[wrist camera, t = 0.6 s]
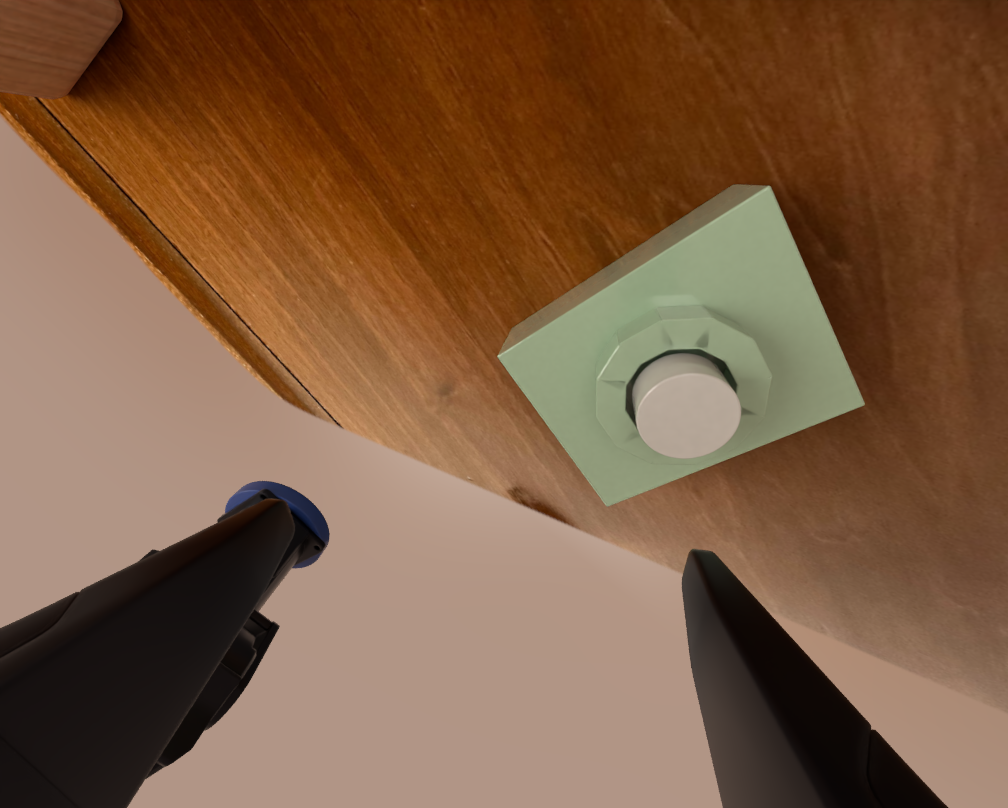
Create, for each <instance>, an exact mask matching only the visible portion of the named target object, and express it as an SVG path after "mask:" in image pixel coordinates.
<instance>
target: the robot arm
mask: <svg viewBox="0 0 1008 808" xmlns="http://www.w3.org/2000/svg"><path fill="white" fill-rule="evenodd" d="M325 547H326V544H325V543H324V541H322V540H321V539H320V538H319V537H318V536H317V535H316V534H315V533H314V532H313V531H312V530H311V529H310V528H309V527H308V526H307V525H306V524H305V523H304V522H303V521H302V520H301V519H299V518H298V517H297V516H296V515H295V514H294V513H293V512H292V511H291V510H290V509H289V506H288V504H287V502H286V501H284V500H280V499H279V498H278V497H276V496H275V495H274V494H273V493H272V492H271V491H270V490H268V489H262V490H260V491H259V492H257V493H256V494H254V495H252V496H251V497H249V498H248V499H246V500H245V501H243V502H242V503H240V504H239V505H237V506H236V507H234V508H233V509H231V510H229V511H228V512H226V513H225V514H223V515H222V516H221V517H220V518H219V519H218V523H216V524H214V525H212V526H210V527H208V528H206V529H204V530H202V531H200V532H198V533H196V534H194V535H192V536H190V537H188V538H186V539H184V540H182V541H180V542H178V543H176V544H174V545H172V546H169V547H167V548H165V549H163V550H161V551H157V550H151V551H150V552H149V553H148V554H147V555H145V556H144V557H143V558H142V559H141V560H140V561H138V562H137V563H135V564H133V565H131V566H129V567H127V568H125V569H123V570H121V571H118V572H116V573H114V574H112V575H110V576H108V577H107V578H104V579H102V580H100V581H98V582H96V583H94V584H92V585H90V586H88V587H86V588H84V589H82V590H81V591H80V592H75V593H73V594H72V595H69V596H67V597H65V598H63V599H61V600H59V601H57V602H56V603H53V604H51V605H49V606H47V607H45V608H43V609H41V610H39V611H36V612H34V613H32V614H30V615H28V616H26V617H24V618H22V619H20V620H18V621H15V622H13V623H11V624H9V625H7V626H4V627H2V628H0V808H127V807H128V805H129V804H130V802H131V800H132V799H133V797H134V796H135V794H136V793H137V791H138V790H139V788H140V786H141V785H142V783H143V782H144V780H145V779H147V778H148V777H149V776H151V775H152V774H154V773H156V772H157V771H159V770H160V769H162V768H163V767H166V766H168V765H170V764H172V763H173V762H174V761H176V760H177V759H179V758H180V757H181V756H183V755H184V754H186V753H187V752H188V751H190V750H191V749H192V748H193V746H194V745H195V743H196V742H197V740H198V739H199V737H200V735H201V734H202V733H203V731H204V730H207V729H209V728H210V727H212V726H213V725H214V724H215V723H216V722H217V721H218V720H220V719H221V717H223V715H224V714H225V713H226V712H227V711H228V710H229V709H230V708H231V706H232V705H233V704H234V703H235V702H236V700H237V699H238V698H239V696H240V695H241V694H242V692H243V691H244V689H245V688H246V686H247V685H248V683H249V681H250V680H251V678H252V676H253V674H254V673H255V671H256V669H257V667H258V665H259V663H260V662H261V659H262V658H263V656H264V654H265V653H266V651H267V649H268V647H269V645H270V643H271V642H272V639H273V638H274V636H275V634H276V632H277V630H278V629H279V625H278V624H277V623H275V622H271V621H270V620H269V619H267V618H266V617H265V616H263V615H262V614H261V613H259V610H260V609H261V607H262V606H263V605H264V604H265V602H266V601H267V599H268V598H269V597H270V596H271V594H272V593H273V592H274V591H275V589H276V588H277V587H278V585H279V584H280V583H281V581H282V580H283V579H284V577H285V576H286V575H287V574H288V572H289V571H290V570H291V568H292V567H293V566H295V565H297V564H299V563H301V562H303V561H305V560H307V559H309V558H311V557H313V556H315V555H317V554H319V553H321V552H322V551H323V550H324V549H325ZM682 592H683V601H684V610H685V618H686V627H687V636H688V645H689V653H690V660H691V668H692V673H693V678H694V682H695V687H696V691H697V695H698V700H699V704H700V709H701V713H702V717H703V722H704V726H705V731H706V735H707V739H708V744H709V748H710V753H711V757H712V761H713V766H714V770H715V775H716V778H717V783H718V788H719V792H720V797H721V801H722V805H723V808H948V807H947V806H946V805H945V804H944V803H943V802H942V801H941V800H940V799H939V798H938V797H937V796H936V795H935V793H934V792H932V790H931V789H930V788H929V787H928V786H927V785H926V784H925V783H924V782H923V781H922V780H921V779H920V778H919V776H918V775H917V774H916V773H915V772H914V771H913V770H912V769H911V768H910V767H909V766H908V765H907V764H906V763H905V762H904V761H903V759H902V758H901V757H900V756H899V755H898V754H897V753H896V752H895V751H894V750H893V749H892V747H890V745H889V744H888V743H887V742H886V741H885V740H884V739H883V738H882V736H881V735H880V734H879V733H878V732H877V731H876V730H871V725H870V724H869V722H868V721H867V720H866V719H865V718H864V717H863V716H862V715H861V714H860V713H859V711H858V710H857V709H856V708H855V707H854V706H853V705H852V704H851V703H850V702H849V700H847V698H846V697H845V696H844V695H843V694H842V693H841V692H840V691H839V689H838V688H837V687H836V686H835V685H834V684H833V683H832V682H831V681H830V680H829V679H828V678H827V676H826V675H825V674H824V673H823V672H822V671H821V670H820V669H819V667H818V666H817V665H816V664H815V663H814V662H813V661H812V660H811V659H810V658H809V656H808V655H807V654H806V653H805V652H804V651H803V650H802V649H801V648H800V647H799V645H798V644H797V643H796V642H795V641H794V640H793V639H792V638H791V637H790V636H789V634H788V633H787V632H786V631H785V630H784V629H783V628H782V627H781V626H780V625H779V623H778V622H777V621H776V620H775V619H774V618H773V617H772V616H771V615H770V614H769V612H768V611H767V610H766V609H765V608H764V607H763V606H762V605H761V604H760V603H759V602H758V600H757V599H756V598H755V597H754V596H753V595H752V594H751V593H750V592H749V591H748V589H747V588H746V587H745V586H744V585H743V584H742V583H741V582H740V581H739V580H738V578H737V577H736V576H735V575H734V574H733V573H732V572H731V571H730V570H729V569H728V567H727V566H726V565H725V564H724V563H723V562H722V561H721V560H720V559H719V558H718V556H717V555H716V554H715V553H713V552H711V551H706V550H698V549H692V550H691V551H690V552H689V554H688V558H687V562H686V565H685V569H684V573H683V577H682Z"/></svg>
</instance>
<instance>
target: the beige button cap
mask: <svg viewBox="0 0 1008 808" xmlns="http://www.w3.org/2000/svg"><path fill="white" fill-rule="evenodd" d="M632 403H633V409H634V414H635V419H636V425H637V429H638V432H639V434H640V436H641V438H642V439H643V441H644V442H645V443H646V444H647V445H648V446H649V447H650V448H652V449H653V450H654V451H656V452H658V453H660V454H662V455H665V456H668V457H672V458H680V459H690V458H697V457H701V456H704V455H707V454H710V453H712V452H714V451H716V450H717V449H719V448H721V447H722V446H723V445H725V444H726V443H727V442H728V441H729V440H730V439H731V437H732V436H733V435H734V433H735V432H736V430H737V428H738V425H739V423H740V419H741V405H740V401H739V398H738V396H737V394H736V393H735V391H734V390H733V388H732V387H731V385H730V384H729V382H728V381H727V379H726V378H725V376H724V375H723V374H722V372H721V371H720V369H719V368H718V367H717V366H716V365H715V364H714V363H713V362H711V361H710V360H708V359H707V358H704V357H702V356H699V355H695V354H689V353H678V354H672V355H668V356H664V357H662V358H660V359H657V360H656V361H654V362H652V363H651V364H649V365H648V366H647V367H646V368H645V369H644V370H643V371H642V372H641V373H640V375H639V376H638V378H637V379H636V381H635V383H634V386H633V390H632Z"/></svg>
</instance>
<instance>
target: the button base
mask: <svg viewBox="0 0 1008 808" xmlns="http://www.w3.org/2000/svg"><path fill="white" fill-rule="evenodd" d="M678 353H689V354H695V355H699V356H702V357H704V358H707V359H708V360H710V361H711V362H713V363H714V364H715V365H716V366H717V367H718V368H719V369H720V371H721V372H722V374H723V375H724V376H725V378H726V379H727V381H728V382H729V384H730V385H731V387H732V388H733V390H734V391H735V393H736V394H737V396H738V398H739V401H740V405H741V419H740V423H739V425H738V428H737V430H736V432H735V433H734V435H733V436H732V437H731V439H730V440H729V441H728V442H727V443H726V444H725V445H723V446H722V447H721V448H719V449H717V450H716V451H714V452H712V453H710V454H707V455H704V456H701V457H697V458H690V459H680V458H672V457H668V456H665V455H662V454H660V453H658V452H656V451H654V450H653V449H652V448H650V447H649V446H648V445H647V444H646V443H645V442H644V441H643V439H642V438H641V436H640V434H639V432H638V429H637V425H636V419H635V414H634V409H633V403H632V390H633V386H634V383H635V381H636V379H637V378H638V376H639V375H640V373H641V372H642V371H643V370H644V369H645V368H646V367H647V366H648V365H649V364H651V363H652V362H654V361H656V360H657V359H660V358H662V357H664V356H668V355H672V354H678ZM497 357H498V359H499V360H500V361H501V363H502V364H503V365H504V367H505V368H506V370H507V371H508V372H509V374H510V375H511V376H512V378H513V379H514V380H515V382H516V383H517V385H518V386H519V387H520V389H521V390H522V391H523V393H524V394H525V395H526V397H527V398H528V400H529V401H530V402H531V404H532V405H533V406H534V408H535V409H536V411H537V412H538V413H539V415H540V416H541V417H542V419H543V420H544V421H545V423H546V424H547V426H548V427H549V428H550V430H551V431H552V432H553V434H554V435H555V437H556V438H557V439H558V441H559V442H560V443H561V445H562V446H563V447H564V449H565V450H566V452H567V453H568V454H569V456H570V457H571V458H572V460H573V461H574V462H575V464H576V465H577V467H578V468H579V469H580V471H581V472H582V473H583V475H584V476H585V478H586V479H587V480H588V482H589V483H590V484H591V486H592V487H593V488H594V490H595V491H596V493H597V494H598V495H599V497H600V498H601V499H602V501H603V502H604V504H605V505H606V506H607V507H608V506H611V505H613V504H616V503H618V502H621V501H623V500H626V499H629V498H631V497H634V496H636V495H639V494H641V493H644V492H646V491H649V490H651V489H654V488H656V487H659V486H661V485H664V484H666V483H669V482H672V481H674V480H677V479H679V478H682V477H684V476H687V475H689V474H692V473H694V472H697V471H699V470H702V469H704V468H707V467H710V466H712V465H715V464H717V463H720V462H722V461H725V460H727V459H730V458H732V457H735V456H737V455H740V454H742V453H745V452H747V451H750V450H753V449H755V448H758V447H760V446H763V445H765V444H768V443H770V442H773V441H775V440H778V439H780V438H783V437H785V436H788V435H791V434H793V433H796V432H798V431H801V430H803V429H806V428H808V427H811V426H813V425H816V424H818V423H821V422H823V421H826V420H828V419H831V418H834V417H836V416H839V415H841V414H844V413H846V412H849V411H851V410H854V409H856V408H859V407H861V406H864V405H865V402H864V400H863V398H862V395H861V393H860V391H859V388H858V386H857V384H856V382H855V379H854V377H853V375H852V372H851V370H850V368H849V365H848V363H847V361H846V358H845V356H844V354H843V352H842V349H841V347H840V345H839V342H838V340H837V338H836V335H835V333H834V331H833V329H832V326H831V324H830V322H829V319H828V317H827V315H826V312H825V310H824V308H823V306H822V303H821V301H820V299H819V296H818V294H817V292H816V289H815V287H814V285H813V282H812V280H811V278H810V276H809V273H808V271H807V269H806V266H805V264H804V262H803V259H802V257H801V255H800V253H799V250H798V248H797V246H796V243H795V241H794V239H793V236H792V234H791V232H790V229H789V227H788V225H787V223H786V220H785V218H784V216H783V213H782V211H781V209H780V206H779V204H778V202H777V200H776V197H775V195H774V193H773V190H772V188H771V186H768V185H743V184H734V185H732V186H730V187H729V188H727V189H726V190H724V191H723V192H721V193H720V194H718V195H717V196H715V197H713V198H712V199H710V200H709V201H707V202H706V203H704V204H703V205H701V206H700V207H698V208H697V209H695V210H693V211H692V212H690V213H689V214H687V215H686V216H684V217H683V218H681V219H680V220H678V221H676V222H675V223H673V224H672V225H670V226H669V227H667V228H666V229H664V230H663V231H661V232H660V233H658V234H656V235H655V236H653V237H652V238H650V239H649V240H647V241H646V242H644V243H643V244H641V245H640V246H638V247H636V248H635V249H633V250H632V251H630V252H629V253H627V254H626V255H624V256H623V257H621V258H619V259H618V260H616V261H615V262H613V263H612V264H610V265H609V266H607V267H606V268H604V269H603V270H601V271H599V272H598V273H596V274H595V275H593V276H592V277H590V278H589V279H587V280H586V281H584V282H583V283H581V284H579V285H578V286H576V287H575V288H573V289H572V290H570V291H569V292H567V293H566V294H564V295H563V296H561V297H559V298H558V299H556V300H555V301H553V302H552V303H550V304H549V305H547V306H546V307H544V308H542V309H541V310H539V311H538V312H536V313H535V314H533V315H532V316H530V317H529V318H527V319H526V320H524V321H522V322H521V323H519V324H518V325H516V326H515V327H513V328H512V329H511V331H510V333H509V335H508V337H507V339H506V341H505V343H504V344H503V346H502V348H501V350H500V352H499V354H498V356H497Z"/></svg>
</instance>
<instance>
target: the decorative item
mask: <svg viewBox="0 0 1008 808" xmlns="http://www.w3.org/2000/svg"><path fill="white" fill-rule="evenodd" d="M122 13H123V11H122V8H121V5H120V3H119V1H118V0H0V92H6V93H13V94H20V95H26V96H33V97H40V98H47V99H56V98H61V97H63V96H66V95H67V94H68V93H69V92H70V90H71V89H72V88H73V86H74V85H75V83H76V82H77V81H78V79H79V78H80V77H81V75H82V74H83V72H84V71H85V70H86V68H87V67H88V66H89V64H90V63H91V62H92V60H93V59H94V57H95V56H96V55H97V53H98V52H99V51H100V49H101V48H102V46H103V45H104V44H105V42H106V41H107V40H108V38H109V37H110V35H111V34H112V33H113V31H114V30H115V29H116V27H117V26H118V24H119V23H120V22H121V20H122Z"/></svg>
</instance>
